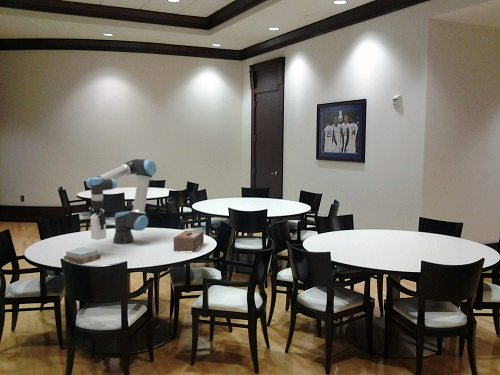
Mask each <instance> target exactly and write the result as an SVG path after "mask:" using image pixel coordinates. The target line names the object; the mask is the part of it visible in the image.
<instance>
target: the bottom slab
mask: <svg viewBox="0 0 500 375" xmlns="http://www.w3.org/2000/svg"><path fill="white" fill-rule="evenodd" d="M64 259H65V260H68V261H70V262H69V263H72V262H73V263H72V264H77V263H78V265H83V264H86V263H87V264H88V263H90V262H94V261H97V260H101V253H98V255H94V256H90V257H87V258H83V259H78V258H73V257H68V256H66V255H64V256H63V260H64ZM68 261H67V262H68Z"/></svg>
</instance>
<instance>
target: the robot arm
mask: <svg viewBox="0 0 500 375" xmlns="http://www.w3.org/2000/svg"><path fill="white" fill-rule="evenodd" d="M156 173H157V165H156V163H155V162H154V161H153V160H151V159H148V158H147V159H141V158H140V159H139V158H135V159H131V160H128V161H126V162H124V163H122V164H120V166H119V167H115V168H112V169H111V170H108V171H106V172H104V173H102V174H100V175H97V176H96V177H95V176H94V177H88V178H87V179H86V181H85V184H86V187H87V188H89V189H90V193H91V197H90V198H91V208H90V217H91V216H92V215H93V214H94V213H96V214H97V215H99V213H100V212H101V214H100V215H99V216H98V217H99V220H100V225H99V226H100V235H101V234H104V224H106V225H107V221H106V220H107V219H106V220H105V217H106V209H103V206H104V191H111V190H115V189H116V188H117V184H118V183H117V180H118V179H120V178H122V177H125V176H129V175H136V178H137V183H136V188H135V189H136V190H135V194H134V201H133V207H132V210H131V211H120V212H116V213H115V214H114V229H115V232H114V237H113V238H112V243H114V244H116V245H117V244H118V245H121V244H122V245H123V244H124V245H125V244H131V243H133V242H134V236H133V232H132V231H137V232H139V231H140V232H141V231H144V230H145V229H146V228H147V226H148V224H149V219H148V217H147V216H146V215H147V213H146V212H145V208H146V204H147V198H148V192H149V191H148V190H149V185H150V184H149V183H150V180H152V178H153V176H154V175H155V174H156Z"/></svg>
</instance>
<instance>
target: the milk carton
mask: <svg viewBox="0 0 500 375" xmlns="http://www.w3.org/2000/svg"><path fill="white" fill-rule="evenodd" d="M100 214H101V212H100V213H99V215H100ZM99 215H97V214H96V213H94V214H93V215H92V216H91V215H90V238H91V239H92V240H96V241H99V240H104V239H107V227H106V226H107V223H106V224H104V234H101V235H100V226H99V225H100V220H99V217H98V216H99ZM105 220H107V219H106V216H105Z"/></svg>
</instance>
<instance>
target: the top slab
mask: <svg viewBox="0 0 500 375" xmlns="http://www.w3.org/2000/svg"><path fill="white" fill-rule="evenodd" d="M98 254H99V250H98V249H97V248H95V249H94V248H90V247H85V246H83V247H78V248H75V249H71V250H67V251H65V256H68V257H73V258H78V259H83V258H87V257H90V256H94V255H98Z"/></svg>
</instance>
